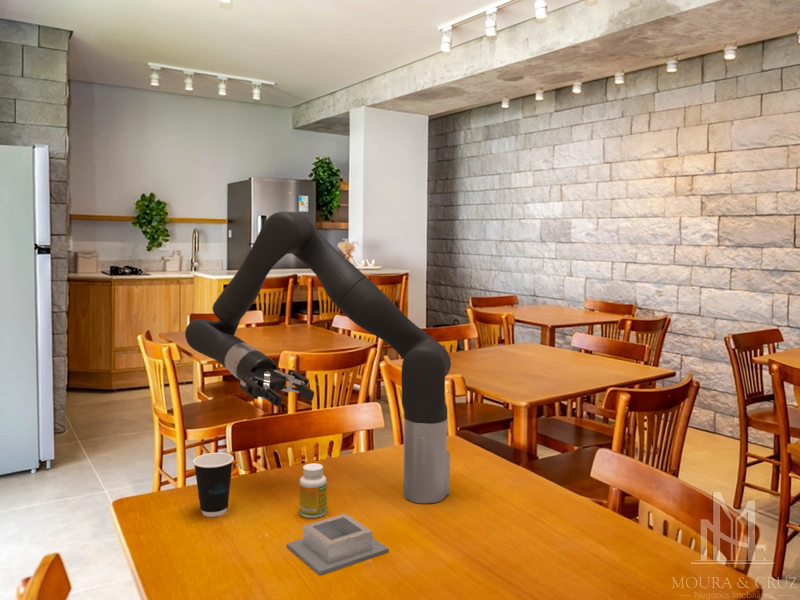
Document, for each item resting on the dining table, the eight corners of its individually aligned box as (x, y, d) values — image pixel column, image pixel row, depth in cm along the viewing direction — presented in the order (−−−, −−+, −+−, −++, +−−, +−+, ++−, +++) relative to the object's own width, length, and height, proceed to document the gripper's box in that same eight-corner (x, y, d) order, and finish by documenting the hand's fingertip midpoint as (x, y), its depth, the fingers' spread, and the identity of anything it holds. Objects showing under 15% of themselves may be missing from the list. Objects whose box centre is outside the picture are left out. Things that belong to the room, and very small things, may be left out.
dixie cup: (218, 523, 128) (217, 468, 127) (185, 516, 131) (184, 462, 130) (242, 507, 136) (241, 455, 135) (210, 501, 138) (209, 450, 137)
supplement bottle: (321, 520, 130) (321, 472, 129) (295, 517, 131) (295, 470, 130) (330, 508, 135) (330, 463, 134) (305, 506, 137) (304, 460, 135)
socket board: (352, 530, 127) (352, 507, 127) (388, 554, 118) (388, 530, 117) (286, 550, 119) (286, 526, 118) (319, 578, 109) (319, 552, 109)
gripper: (226, 352, 137) (273, 387, 128) (279, 347, 148) (326, 379, 139) (218, 384, 139) (264, 421, 129) (271, 377, 150) (318, 410, 140)
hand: (296, 399), depth 134 cm, fingers open, 8 cm apart
